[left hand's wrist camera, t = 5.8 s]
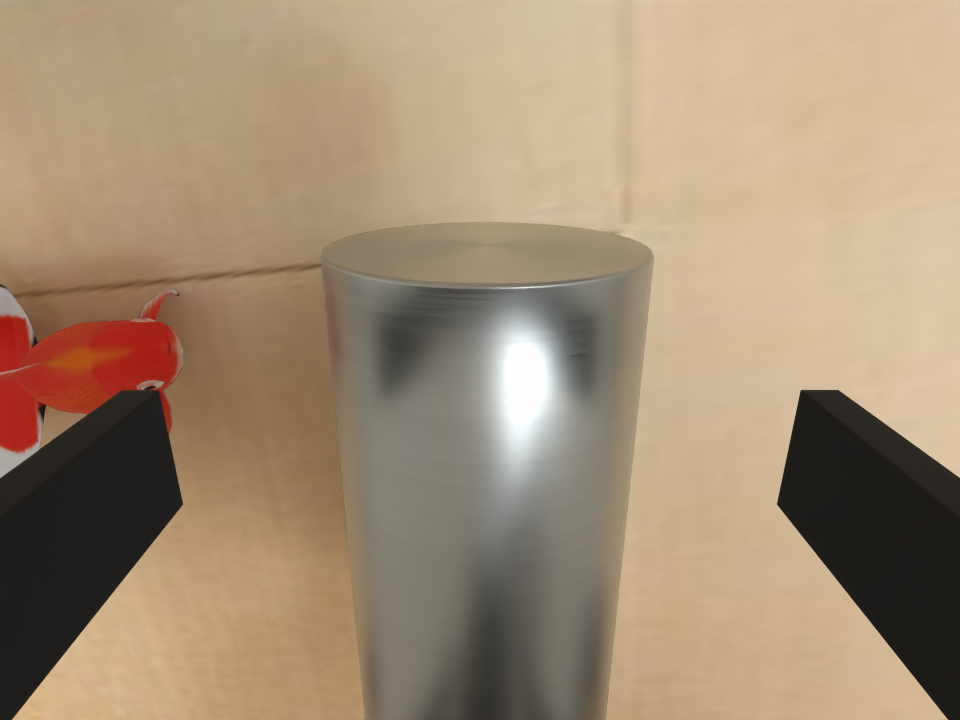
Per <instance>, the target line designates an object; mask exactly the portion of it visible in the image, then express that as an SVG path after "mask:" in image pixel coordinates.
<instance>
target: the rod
mask: <svg viewBox="0 0 960 720" xmlns="http://www.w3.org/2000/svg"><path fill="white" fill-rule="evenodd" d="M653 262H654V256H653V253H652V251H651V250H650V249H649V248H648V247H647V246H645V245H644V244H642V243H640V242H637V241H635V240H632V239H630V238H626V237H623V236H620V235H615V234H611V233H607V232H601V231H596V230H590V229H583V228H575V227H567V226H556V225H544V224H527V223H490V222H482V223H444V224H428V225H415V226H405V227H397V228H389V229H382V230H376V231H371V232H365V233H361V234H357V235H353V236H350V237H346V238H343V239H341V240H338V241H336V242H333V243H332V244H330V245H328V246H327V247H326V248H325V249H324V250H323V251H322V254H321V266H322V277H323V287H324V297H325V308H326V318H327V329H328V339H329V349H330V360H331V370H332V381H333V391H334V401H335V412H336V422H337V433H338V443H339V453H340V464H341V474H342V485H343V495H344V505H345V516H346V526H347V537H348V547H349V557H350V568H351V578H352V589H353V599H354V609H355V620H356V630H357V641H358V651H359V661H360V672H361V682H362V693H363V703H364V713H365V720H605V719H606V710H607V700H608V691H609V681H610V672H611V662H612V653H613V643H614V633H615V624H616V614H617V605H618V595H619V586H620V576H621V567H622V557H623V548H624V538H625V529H626V519H627V510H628V500H629V491H630V481H631V472H632V462H633V452H634V443H635V433H636V424H637V414H638V405H639V395H640V386H641V376H642V367H643V357H644V348H645V338H646V329H647V319H648V310H649V300H650V291H651V281H652V271H653Z"/></svg>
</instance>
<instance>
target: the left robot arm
mask: <svg viewBox="0 0 960 720" xmlns="http://www.w3.org/2000/svg"><path fill="white" fill-rule="evenodd" d="M182 505H183V502H182V497H181V493H180V488H179V483H178V478H177V473H176V469H175V464H174V459H173V454H172V449H171V445H170V440H169V435H168V430H167V425H166V421H165V416H164V411H163V406H162V401H161V397H160V392H159V390H121V391H120V392H118V393H117V394H116V395H114V396H113V397H111V398H110V399H109V400H107V401H106V402H105V403H103V404H102V405H100V406H99V407H98V408H96V409H95V410H94V411H92V412H91V413H89V414H88V415H87V416H85V417H84V418H82V419H81V420H80V421H78V422H77V423H76V424H74V425H73V426H71V427H70V428H69V429H67V430H66V431H64V432H63V433H62V434H60V435H59V436H58V437H56V438H55V439H53V440H52V441H51V442H49V443H48V444H47V445H45V446H44V447H42V448H41V449H40V450H38V451H37V452H35V453H34V454H33V455H31V456H30V457H29V458H27V459H26V460H24V461H23V462H22V463H20V464H19V465H17V466H16V467H15V468H13V469H12V470H11V471H9V472H8V473H6V474H5V475H4V476H2V477H1V478H0V720H12V719H13V718H14V716H15V715H16V714H17V713H18V711H19V710H20V709H21V708H22V706H23V705H24V704H25V702H26V701H27V700H28V699H29V697H30V696H31V695H32V694H33V692H34V691H35V690H36V689H37V687H38V686H39V685H40V684H41V682H42V681H43V680H44V679H45V677H46V676H47V675H48V674H49V672H50V671H51V670H52V669H53V667H54V666H55V665H56V663H57V662H58V661H59V660H60V658H61V657H62V656H63V655H64V653H65V652H66V651H67V650H68V648H69V647H70V646H71V645H72V643H73V642H74V641H75V640H76V638H77V637H78V636H79V635H80V633H81V632H82V631H83V630H84V628H85V627H86V626H87V625H88V623H89V622H90V621H91V619H92V618H93V617H94V616H95V614H96V613H97V612H98V611H99V609H100V608H101V607H102V606H103V604H104V603H105V602H106V601H107V599H108V598H109V597H110V596H111V594H112V593H113V592H114V591H115V589H116V588H117V587H118V586H119V584H120V583H121V582H122V580H123V579H124V578H125V577H126V575H127V574H128V573H129V572H130V570H131V569H132V568H133V567H134V565H135V564H136V563H137V562H138V560H139V559H140V558H141V557H142V555H143V554H144V553H145V552H146V550H147V549H148V548H149V547H150V545H151V544H152V543H153V542H154V540H155V539H156V538H157V536H158V535H159V534H160V533H161V531H162V530H163V529H164V528H165V526H166V525H167V524H168V523H169V521H170V520H171V519H172V518H173V516H174V515H175V514H176V513H177V511H178V510H179V509H180V508H181V506H182ZM777 505H778V506H779V508H780V509H781V510H782V511H783V513H784V514H785V515H786V516H787V518H788V519H789V520H790V521H791V523H792V524H793V525H794V526H795V528H796V529H797V530H798V531H799V533H800V534H801V535H802V536H803V538H804V539H805V540H806V542H807V543H808V544H809V545H810V547H811V548H812V549H813V550H814V552H815V553H816V554H817V555H818V557H819V558H820V559H821V560H822V562H823V563H824V564H825V565H826V567H827V568H828V569H829V570H830V572H831V573H832V574H833V575H834V577H835V578H836V579H837V580H838V582H839V583H840V584H841V586H842V587H843V588H844V589H845V591H846V592H847V593H848V594H849V596H850V597H851V598H852V599H853V601H854V602H855V603H856V604H857V606H858V607H859V608H860V609H861V611H862V612H863V613H864V614H865V616H866V617H867V618H868V619H869V621H870V622H871V623H872V625H873V626H874V627H875V628H876V630H877V631H878V632H879V633H880V635H881V636H882V637H883V638H884V640H885V641H886V642H887V643H888V645H889V646H890V647H891V648H892V650H893V651H894V652H895V653H896V655H897V656H898V657H899V658H900V660H901V661H902V662H903V663H904V665H905V666H906V667H907V669H908V670H909V671H910V672H911V674H912V675H913V676H914V677H915V679H916V680H917V681H918V682H919V684H920V685H921V686H922V687H923V689H924V690H925V691H926V692H927V694H928V695H929V696H930V697H931V699H932V700H933V701H934V702H935V704H936V705H937V706H938V708H939V709H940V710H941V711H942V713H943V714H944V715H945V716H946V718H947V719H948V720H960V478H959V477H958V476H956V475H955V474H954V473H952V472H951V471H949V470H948V469H947V468H945V467H944V466H942V465H941V464H940V463H938V462H937V461H936V460H934V459H933V458H931V457H930V456H929V455H927V454H926V453H925V452H923V451H922V450H920V449H919V448H918V447H916V446H915V445H913V444H912V443H911V442H909V441H908V440H907V439H905V438H904V437H902V436H901V435H900V434H898V433H897V432H896V431H894V430H893V429H891V428H890V427H889V426H887V425H886V424H884V423H883V422H882V421H880V420H879V419H878V418H876V417H875V416H873V415H872V414H871V413H869V412H868V411H866V410H865V409H864V408H862V407H861V406H860V405H858V404H857V403H855V402H854V401H853V400H851V399H850V398H849V397H847V396H846V395H844V394H843V393H842V392H840V391H839V390H801V392H800V397H799V401H798V406H797V411H796V416H795V421H794V425H793V430H792V435H791V440H790V445H789V449H788V454H787V459H786V464H785V469H784V473H783V478H782V483H781V488H780V492H779V497H778V502H777Z"/></svg>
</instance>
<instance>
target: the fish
mask: <svg viewBox="0 0 960 720" xmlns="http://www.w3.org/2000/svg"><path fill="white" fill-rule="evenodd" d="M171 293H172V294H174V295H176V296H178V295H180V294H179V293H178V292H177V291H176V290H175V289H173V288H172V289H170V290H168V291H165V292H163V293H161V294H158V295H157V296H156V297H154V298H153V299H152V300H151V301H149V302H148V303H147V304H146V305H145V306H144V307H143V309H142V311H141V314H140V318H134V319H132V320H130V321H128V320H124V321H112V322H108V321H105V322H88V323H81V324H77V325H73V326H71V327H68V328H65V329H63V330H60V331H58V332H56V333H53V334H51V335H50V336H48V337H46V338H45V339H43V340H41V341H40V342H39V343H38V342H37V340H36V337H35V334H34V332H33V329H32V326H31V324H30V321H29V318H28V316H27V315H26V313H25V312H24V310H23V309H22V308H21V306H20V305H19V303H18V302H17V301H16V299H15V298H14V297H13V296H12V294H11V293H10V292H9V291H8V289H7V288H6V287H5V286H3V285H1V284H0V478H1V477H2V476H4V475H5V474H6V473H8V472H9V471H11V470H12V469H13V468H15V467H16V466H17V465H19V464H20V463H22V462H23V461H24V460H26V459H27V458H29V457H30V456H31V455H33V454H34V453H35V452H37V451H38V450H39V449H40V442H41V435H42V428H43V421H44V413H45V407H46V405H47V406H50V407H52V408H54V409H57V410H60V411H65V412H72V413H84V414H89V413H91V412H92V411H94V410H95V409H96V408H98V407H99V406H100V405H102V404H103V403H105V402H106V401H107V400H109V399H110V398H111V397H113V396H114V395H116V394H117V393H118V392H120V391H121V390H159V392H160V397H161V401H162V406H163V411H164V416H165V421H166V425H167V430H168V435H169V432H170V430H171V427H172V417H171V407H170V405H169V402H168V400H167V397H166V395H165V393H164V391H163V390H164V389H165V388H166V387H167V386H168V385H170V384H171V383H172V382H174V380H175V379H176V377H177V376H178V375H179V373H180V371H181V368H182V365H183V353H184V351H183V348H182V345H181V342H180V339H179V337H178V335H177V334H176V333H175V332H174V330H173V329H172V328H171V327H170V326H168V325H166V324H164V323H162V322H159V321H157V318H158V314H159V311H160V309H161V306H162V303H163V300H164V299H165V297H166V296H167V294H171Z"/></svg>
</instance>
